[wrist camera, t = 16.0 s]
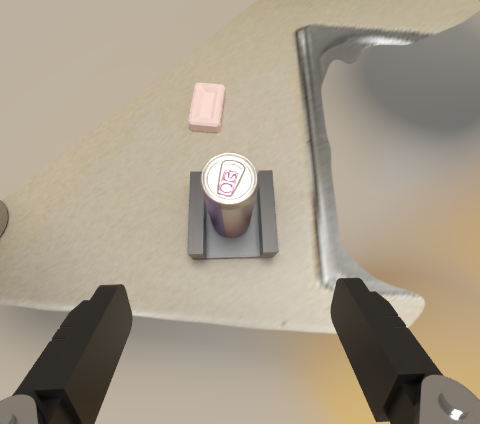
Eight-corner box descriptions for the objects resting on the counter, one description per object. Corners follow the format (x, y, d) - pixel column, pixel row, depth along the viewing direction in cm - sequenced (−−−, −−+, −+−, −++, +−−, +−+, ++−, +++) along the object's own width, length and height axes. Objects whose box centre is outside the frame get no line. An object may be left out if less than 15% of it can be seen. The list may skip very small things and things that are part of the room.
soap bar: (225, 93, 48) (224, 83, 46) (219, 134, 46) (218, 125, 43) (197, 90, 49) (195, 80, 46) (189, 131, 46) (187, 122, 43)
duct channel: (272, 257, 39) (278, 251, 34) (193, 259, 38) (187, 254, 34) (267, 184, 42) (272, 170, 38) (195, 185, 42) (190, 171, 37)
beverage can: (206, 232, 39) (190, 197, 24) (218, 196, 40) (209, 144, 26) (244, 242, 38) (251, 213, 24) (254, 206, 40) (265, 158, 26)
